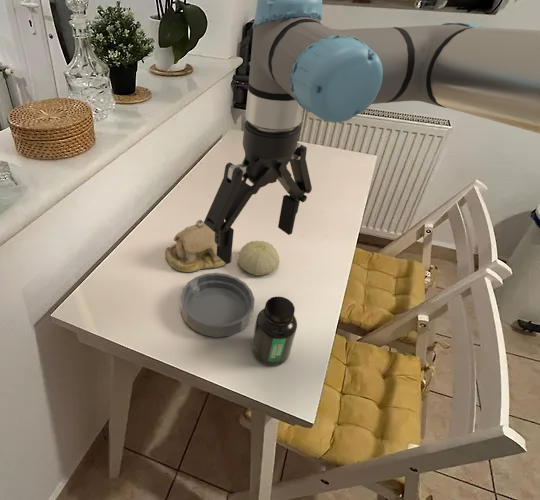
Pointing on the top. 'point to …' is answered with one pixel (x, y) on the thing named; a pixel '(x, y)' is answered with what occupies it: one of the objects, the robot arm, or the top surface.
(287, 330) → the supplement bottle
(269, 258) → the sea urchin shell
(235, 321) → the dish
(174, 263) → the ceramic model
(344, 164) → the top surface
